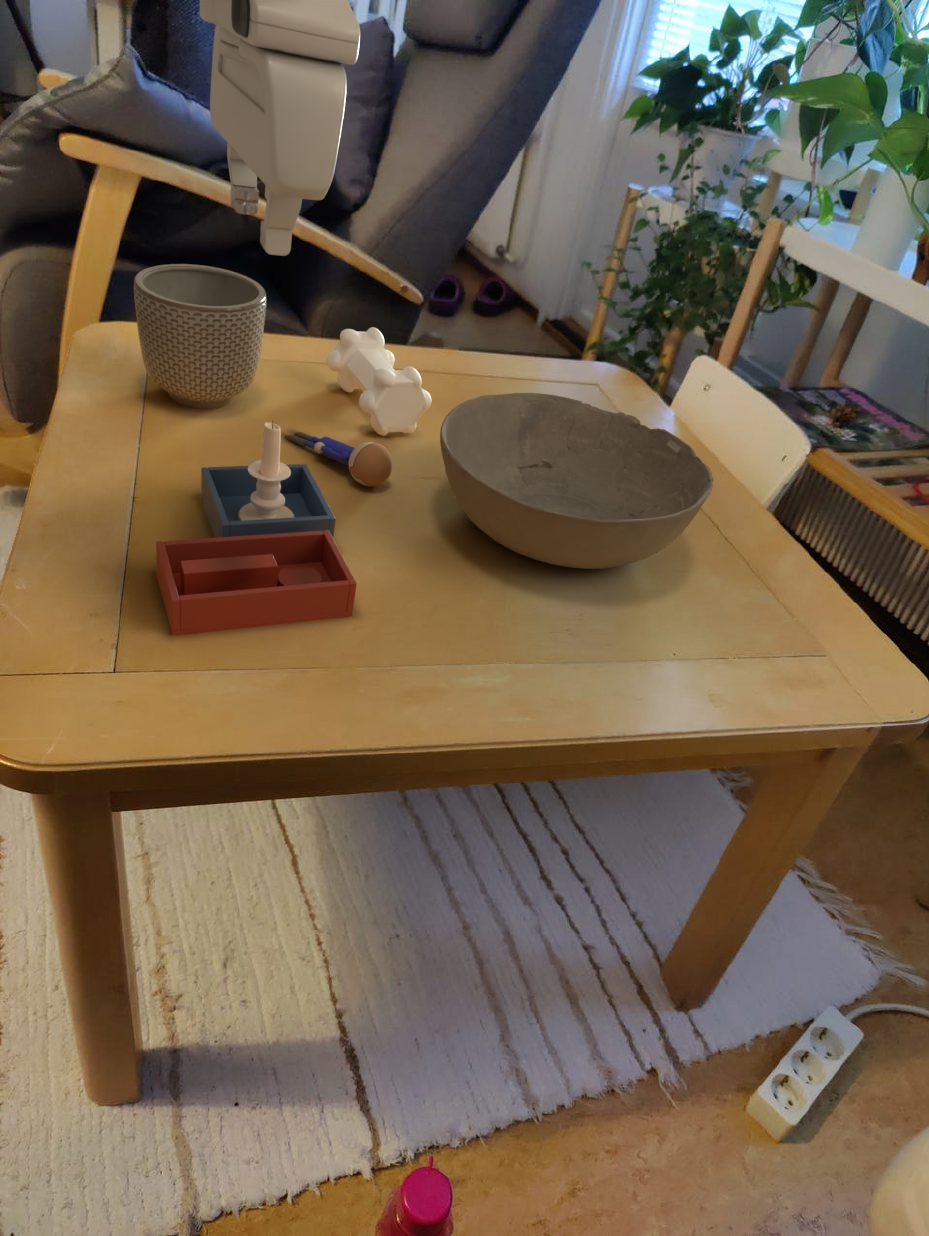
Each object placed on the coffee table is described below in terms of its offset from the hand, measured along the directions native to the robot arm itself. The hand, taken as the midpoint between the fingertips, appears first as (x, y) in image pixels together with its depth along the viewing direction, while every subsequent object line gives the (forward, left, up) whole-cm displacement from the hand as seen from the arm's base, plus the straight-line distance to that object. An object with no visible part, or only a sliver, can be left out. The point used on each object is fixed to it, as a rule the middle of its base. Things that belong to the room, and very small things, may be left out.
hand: (258, 231), depth 63 cm
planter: (+2, +32, -28) cm, 42 cm away
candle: (+3, +4, -27) cm, 28 cm away
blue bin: (+3, +4, -28) cm, 28 cm away
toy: (+13, +15, -28) cm, 34 cm away
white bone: (+22, +28, -28) cm, 45 cm away
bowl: (+33, 0, -28) cm, 43 cm away
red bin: (-1, -7, -28) cm, 29 cm away
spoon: (-1, -7, -27) cm, 28 cm away
